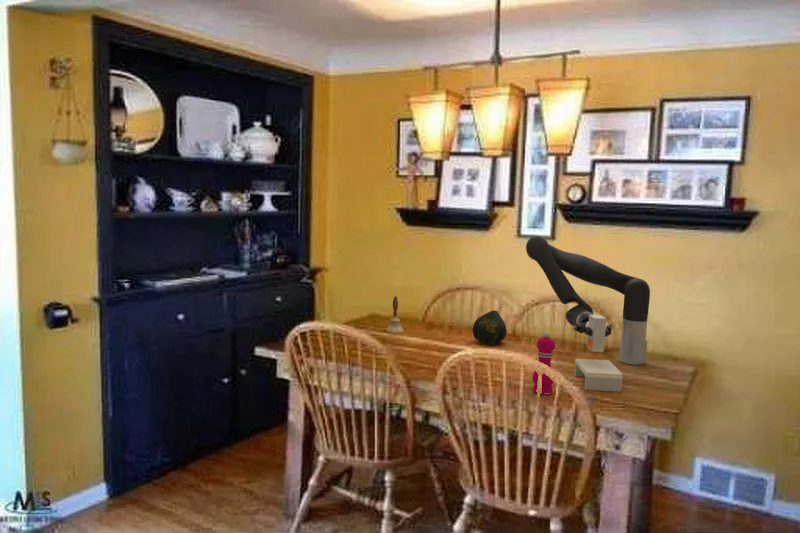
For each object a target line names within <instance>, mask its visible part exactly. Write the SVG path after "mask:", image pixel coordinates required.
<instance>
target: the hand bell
mask: <svg viewBox="0 0 800 533" xmlns="http://www.w3.org/2000/svg"><path fill="white" fill-rule="evenodd" d="M392 308H393V313H392V314H393V315H392V318H390V320H389V325H388V326H387V328H386V329H385V331H386V332H387V333H392V334H399V333H403V332H404V329H403V327H402V326H401V320H400V318H398V308H399V299H398V296H394V297H393V301H392Z"/></svg>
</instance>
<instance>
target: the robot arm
mask: <svg viewBox="0 0 800 533" xmlns="http://www.w3.org/2000/svg"><path fill="white" fill-rule="evenodd" d="M525 250H526V253H527V254H526V255H527V256H528V257H529V259H531V260H532V261H535V262H536V263H537V264H538V266H540V269H541V270H542V271H543V273H544V274H545V277H546V278H547V280H548V283H549V285H550V286H551V288H552V289H553V290H552V291H554V294H555V295H556V296H557V298H558V299H559V301H560V303H561V304H563V305H568V304H570V303H576V304H577V305H575V306H573V307H572V308H569V309H568V310H567V311H566V313H565V319H566V321H567V322H568V324H570V326H573V327H572V328H573V331H575V332H578V333H579V334H585V336H588V335H589V336H592V329H591V328H589V327H588V324H589V315H595V314H594V310H593V307H591V305H590V304H589V303H587V302H586V301H585V300H584V299H582V298H581V296H580V295H579V294H578V293H577V291H576V290H575V289H574V286H572V284H571V282H570V281H569V279H568V278H567V276H566V275H565V274H564V272H565V273H566V274H569V275H571V276H573V277H574V278H577V279H578V280H579V279H580V280H581V281H584V282H586V283H589V284H592V285H596V286H600V287H605V288H609V289H611V290H614V291H615V292H618V293H620V294H622V295H624V296H623V307H622V319H621V320H622V321H621V332H620V344H619V345H620V346H619V356H618V357H619V359H618V360H619V362H621V363H623V364H627V365H639V366H640V365H646V359H647V349H648V340H647V339H646V337H647V328H648V318H649V310H650V298H651V289H650V285H649V284H648V282H647V281H645V280H644V279H642V278H639V277H636V276H631V275H628V274H625V273H622V272H620V271H617V270H615V269H613V268H612V267H610V266H608V265H606V264H604V263H602V262H600V261H598V260H595V259H592V258H590V257H587V256H585V255H582V254H578V253H574V252H568V251H564V250H561V249H559V248H558V247H555V246H553V245H551V244H549V242H548V240H547V239H546V238H545V237H543V236H540V235H534V236H532V237H530V238H529V239H528V240H527V242H526V244H525ZM612 326H613V324H606V330H605V338H607V337H608V336H611V335H612V328H613V327H612Z"/></svg>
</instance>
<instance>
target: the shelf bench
mask: <svg viewBox="0 0 800 533" xmlns="http://www.w3.org/2000/svg"><path fill="white" fill-rule="evenodd" d="M574 362H575V363H574V374H573V375H574V376H575V377H576V376H577V377H584V387H583V388H584V390H585V391H587V390H588V391H600V392H601V391H605V392H621V393H622V391H623V390H622V389H623V379H624V378H623V375H624V373H622V372H621V371H620V370H619V369H618V368H617V367H616V366H615V365H614V364H613V363H612V362H611V361H610V359H608V360H607V359H591V358H590V359H589V358H575V361H574Z"/></svg>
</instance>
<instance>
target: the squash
mask: <svg viewBox="0 0 800 533" xmlns="http://www.w3.org/2000/svg"><path fill="white" fill-rule="evenodd" d="M499 313H500V312H498V310H491V311H488V312H487V313H486V312H485V313H484V314H482V315H481V316H479V317H478V318H477V319H475V321H474V323H473V326H472V330H471V331H472V335H473V337H474V339H475V340H477V341H479V343H480V344H482V345H483V344H485V345H489V346H491V345H493V344H499V343H501V342H503V341H504V340H505V338H506V336H507V326H506V324H505V321H504V319H503V318H502V316H501V315H500V314H499Z"/></svg>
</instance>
